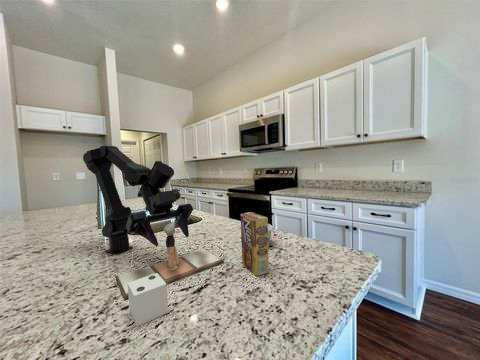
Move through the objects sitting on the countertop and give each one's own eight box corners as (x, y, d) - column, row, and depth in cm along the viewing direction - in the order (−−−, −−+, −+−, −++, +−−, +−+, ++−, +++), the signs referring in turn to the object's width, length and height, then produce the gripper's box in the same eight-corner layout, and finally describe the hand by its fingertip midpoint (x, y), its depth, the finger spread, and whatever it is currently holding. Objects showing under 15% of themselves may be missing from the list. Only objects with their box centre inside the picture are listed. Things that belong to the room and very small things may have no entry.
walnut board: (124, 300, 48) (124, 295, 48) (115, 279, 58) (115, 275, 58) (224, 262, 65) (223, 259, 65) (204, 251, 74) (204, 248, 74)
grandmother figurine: (183, 269, 59) (181, 224, 59) (169, 274, 57) (166, 227, 56) (174, 260, 66) (171, 219, 65) (161, 264, 63) (158, 222, 63)
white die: (136, 326, 40) (133, 295, 39) (129, 310, 44) (127, 282, 44) (168, 312, 43) (166, 283, 43) (158, 298, 48) (157, 272, 48)
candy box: (270, 272, 58) (268, 217, 57) (256, 277, 56) (254, 219, 55) (254, 260, 66) (252, 211, 65) (241, 263, 64) (239, 213, 63)
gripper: (126, 183, 56) (146, 232, 49) (188, 178, 69) (211, 216, 62) (119, 209, 62) (136, 257, 55) (177, 200, 75) (197, 237, 68)
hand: (173, 240), depth 60 cm, fingers open, 9 cm apart
